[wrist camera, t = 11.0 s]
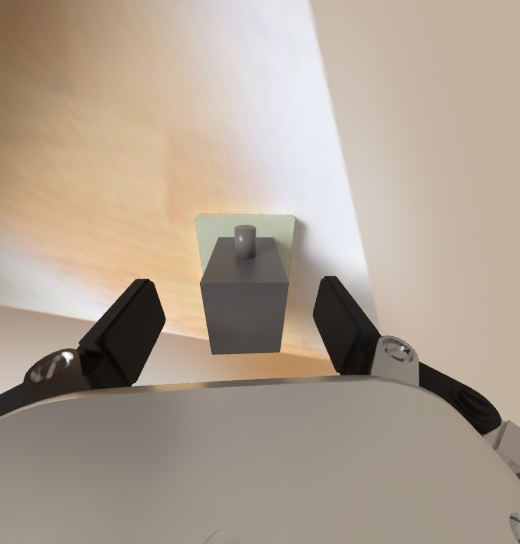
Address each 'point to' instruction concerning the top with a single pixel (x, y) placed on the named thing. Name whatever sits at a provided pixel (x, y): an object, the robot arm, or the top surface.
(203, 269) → the mat
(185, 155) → the top surface
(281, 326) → the block
